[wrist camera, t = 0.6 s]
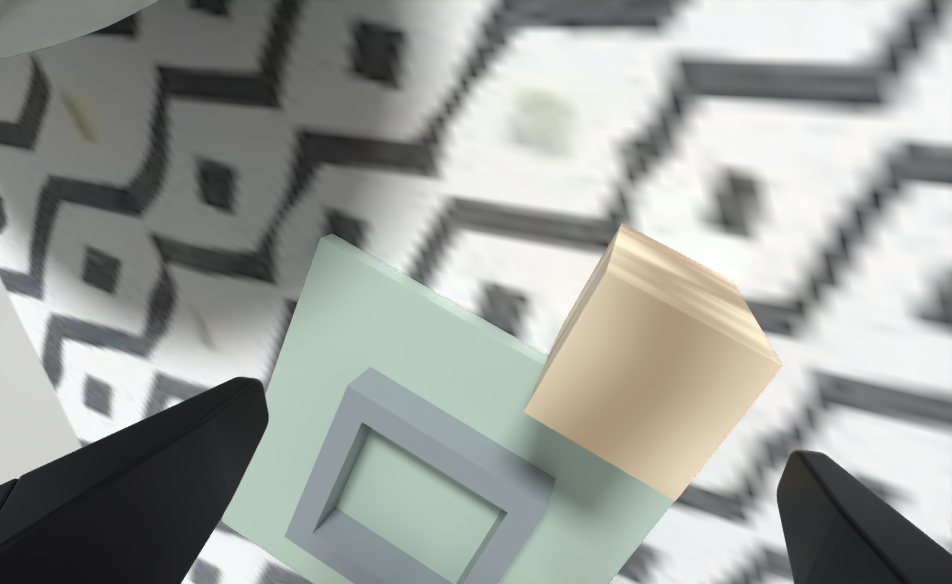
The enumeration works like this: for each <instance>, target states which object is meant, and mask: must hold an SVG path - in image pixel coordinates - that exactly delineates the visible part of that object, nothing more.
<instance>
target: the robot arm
mask: <svg viewBox="0 0 952 584" xmlns="http://www.w3.org/2000/svg"><path fill="white" fill-rule="evenodd" d="M268 421H269V412H268V407H267V402H266V397H265V392H264V387H263V384H262V382H261V381H260V380H258V379H255V378H248V377H236V378H233V379H231V380H229V381H227V382H225V383H222V384H220V385H218V386H216V387H214V388H211V389H209V390H207V391H205V392H203V393H201V394H198V395H196V396H194V397H192V398H190V399H187V400H185V401H183V402H181V403H179V404H177V405H174V406H172V407H170V408H168V409H166V410H163V411H161V412H159V413H157V414H155V415H152V416H150V417H148V418H146V419H144V420H142V421H139V422H137V423H135V424H133V425H131V426H128V427H126V428H124V429H122V430H120V431H118V432H115V433H113V434H111V435H109V436H107V437H104V438H102V439H100V440H98V441H96V442H94V443H91V444H89V445H87V446H85V447H83V448H80V449H78V450H76V451H74V452H72V453H70V454H67V455H65V456H63V457H61V458H59V459H56V460H54V461H52V462H50V463H48V464H46V465H43V466H41V467H39V468H37V469H35V470H33V471H31V472H28V473H26V474H24V475H22V476H21V477H20V478H19V479H13V480H10V481H8V482H6V483H4V484H2V485H0V584H181V583H182V581H183V579H184V578H185V576H186V574H187V573H188V571H189V569H190V568H191V566H192V565H193V563H194V561H195V560H196V558H197V556H198V555H199V553H200V552H201V550H202V548H203V547H204V545H205V543H206V542H207V540H208V539H209V537H210V535H211V534H212V532H213V530H214V529H215V527H216V526H217V524H218V522H219V521H220V519H221V517H222V516H223V514H224V512H225V511H226V509H227V507H228V506H229V504H230V502H231V500H232V498H233V496H234V494H235V493H236V491H237V489H238V487H239V484H240V482H241V480H242V478H243V476H244V474H245V472H246V470H247V468H248V466H249V464H250V462H251V460H252V458H253V455H254V453H255V451H256V449H257V447H258V445H259V443H260V441H261V439H262V437H263V435H264V433H265V431H266V428H267V425H268ZM777 503H778V508H779V513H780V518H781V523H782V527H783V532H784V537H785V542H786V547H787V551H788V556H789V561H790V566H791V571H792V576H793V580H794V584H952V555H951V554H950V553H949V552H948V551H946V550H945V549H944V548H943V547H941V546H940V545H939V544H938V543H936V542H935V541H934V540H933V539H931V538H930V537H929V536H927V535H926V534H925V533H924V532H922V531H921V530H920V529H919V528H917V527H916V526H915V525H914V524H912V523H911V522H910V521H909V520H907V519H906V518H905V517H904V516H902V515H901V514H900V513H899V512H897V511H896V510H895V509H894V508H892V507H891V506H890V505H888V504H887V503H886V502H885V501H883V500H882V499H881V498H880V497H878V496H877V495H876V494H875V493H873V492H872V491H871V490H870V489H868V488H867V487H866V486H865V485H863V484H862V483H861V482H860V481H858V480H857V479H856V478H855V477H853V476H852V475H851V474H849V473H848V472H847V471H846V470H844V469H843V468H842V467H841V466H839V465H838V464H837V463H836V462H834V461H833V460H832V459H831V458H829V457H828V456H827V455H825V454H823V453H821V452H815V451H807V450H794V451H793V452H792V453H791V454H790V456H789V458H788V461H787V463H786V466H785V469H784V471H783V474H782V477H781V479H780V482H779V484H778V488H777Z"/></svg>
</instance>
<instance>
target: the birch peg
mask: <svg viewBox="0 0 952 584" xmlns="http://www.w3.org/2000/svg"><path fill="white" fill-rule="evenodd" d="M782 366H783V365H782V363H781V362H780V360H779V358H778V357H777V355H776V353H775V352H774V350H773V348H772V347H771V345H770V343H769V341H768V340H767V338H766V336H765V335H764V333H763V331H762V330H761V328H760V326H759V325H758V323H757V321H756V319H755V318H754V316H753V314H752V313H751V311H750V309H749V308H748V306H747V304H746V303H745V301H744V299H743V298H742V296H741V294H740V292H739V291H738V289H737V287H736V286H735V284H734V282H733V281H732V280H730V279H728V278H727V277H725V276H723V275H721V274H719V273H717V272H715V271H713V270H711V269H709V268H707V267H705V266H703V265H702V264H700V263H698V262H696V261H694V260H692V259H690V258H688V257H686V256H684V255H682V254H680V253H678V252H677V251H675V250H673V249H671V248H669V247H667V246H665V245H663V244H661V243H659V242H657V241H655V240H653V239H652V238H650V237H648V236H646V235H644V234H642V233H640V232H638V231H636V230H634V229H632V228H630V227H628V226H627V225H625V224H623V223H621V225H620V226H619V228H618V230H617V231H616V233H615V235H614V237H613V238H612V240H611V242H610V244H609V245H608V247H607V249H606V250H605V252H604V254H603V256H602V257H601V259H600V261H599V263H598V264H597V266H596V268H595V269H594V271H593V273H592V275H591V276H590V278H589V280H588V282H587V283H586V285H585V287H584V288H583V290H582V292H581V294H580V295H579V297H578V299H577V301H576V302H575V304H574V306H573V307H572V309H571V311H570V313H569V314H568V316H567V318H566V320H565V322H564V324H563V326H562V328H561V330H560V333H559V335H558V337H557V339H556V341H555V343H554V346H553V348H552V350H551V352H550V354H549V357H548V359H547V361H546V363H545V365H544V368H543V370H542V372H541V374H540V376H539V379H538V381H537V383H536V385H535V387H534V390H533V392H532V394H531V396H530V398H529V401H528V403H527V405H526V407H525V409H524V411H523V412H524V413H526V414H528V415H529V416H531V417H533V418H534V419H536V420H538V421H540V422H541V423H543V424H545V425H546V426H548V427H550V428H551V429H553V430H555V431H556V432H558V433H560V434H562V435H563V436H565V437H567V438H568V439H570V440H572V441H573V442H575V443H577V444H579V445H580V446H582V447H584V448H585V449H587V450H589V451H590V452H592V453H594V454H595V455H597V456H599V457H601V458H602V459H604V460H606V461H607V462H609V463H611V464H612V465H614V466H616V467H618V468H619V469H621V470H623V471H624V472H626V473H628V474H629V475H631V476H633V477H634V478H636V479H638V480H640V481H641V482H643V483H645V484H646V485H648V486H650V487H651V488H653V489H655V490H657V491H658V492H660V493H662V494H663V495H665V496H667V497H668V498H670V499H672V500H673V501H676V500H677V498H678V497H679V496H680V495H681V493H682V492H683V491H684V490H685V488H686V487H687V486H688V485H689V483H690V482H691V481H692V480H693V478H694V477H695V476H696V475H697V473H698V472H699V471H700V469H701V468H702V467H703V466H704V464H705V463H706V462H707V461H708V459H709V458H710V457H711V456H712V454H713V453H714V452H715V451H716V449H717V448H718V447H719V446H720V444H721V443H722V442H723V440H724V439H725V438H726V437H727V435H728V434H729V433H730V432H731V430H732V429H733V428H734V427H735V425H736V424H737V423H738V422H739V420H740V419H741V418H742V417H743V415H744V414H745V413H746V411H747V410H748V409H749V408H750V406H751V405H752V404H753V403H754V401H755V400H756V399H757V398H758V396H759V395H760V394H761V393H762V391H763V390H764V389H765V387H766V386H767V385H768V384H769V382H770V381H771V380H772V379H773V377H774V376H775V375H776V374H777V372H778V371H779V370H780V369H781V367H782Z"/></svg>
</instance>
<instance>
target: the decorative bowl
mask: <svg viewBox="0 0 952 584" xmlns="http://www.w3.org/2000/svg"><path fill="white" fill-rule="evenodd" d="M156 1H158V0H0V59H2V58H7V57H11V56H15V55H19V54H24V53H28V52H32V51H36V50H40V49H44V48H47V47H51V46H54V45H57V44H61V43H64V42H67V41H70V40H72V39H75V38H78V37H81V36H83V35H86V34H89V33H91V32H94V31H97V30H100V29H102V28H105V27H107V26H109V25H112V24H114V23H116V22H118V21H120V20H122V19H124V18H126V17H128V16H130V15H132V14H134V13H136V12H138V11H140V10H142V9H144V8H146V7H148V6H150V5H151V4H153V3H155V2H156Z"/></svg>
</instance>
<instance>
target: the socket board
mask: <svg viewBox="0 0 952 584" xmlns="http://www.w3.org/2000/svg"><path fill="white" fill-rule="evenodd" d="M548 357H549V356H547V355H545V354H543V353H542V352H540V351H538V350H536V349H535V348H533V347H531V346H529V345H528V344H526V343H524V342H522V341H520V340H519V339H517V338H515V337H513V336H512V335H510V334H508V333H506V332H505V331H503V330H501V329H499V328H498V327H496V326H494V325H492V324H491V323H489V322H487V321H485V320H484V319H482V318H480V317H478V316H477V315H475V314H473V313H471V312H470V311H468V310H466V309H464V308H463V307H461V306H459V305H457V304H455V303H454V302H452V301H450V300H448V299H447V298H445V297H443V296H441V295H440V294H438V293H436V292H434V291H433V290H431V289H429V288H427V287H426V286H424V285H422V284H420V283H419V282H417V281H415V280H413V279H412V278H410V277H408V276H406V275H405V274H403V273H401V272H399V271H397V270H396V269H394V268H392V267H390V266H389V265H387V264H385V263H383V262H382V261H380V260H378V259H376V258H375V257H373V256H371V255H369V254H368V253H366V252H364V251H362V250H361V249H359V248H357V247H355V246H354V245H352V244H350V243H348V242H347V241H345V240H343V239H341V238H339V237H338V236H336V235H334V234H330V235H327V236H324V237H320V240H319V243H318V246H317V248H316V251H315V254H314V257H313V260H312V263H311V266H310V269H309V271H308V274H307V277H306V280H305V283H304V286H303V289H302V292H301V294H300V297H299V300H298V303H297V306H296V309H295V312H294V315H293V317H292V320H291V323H290V326H289V329H288V332H287V335H286V338H285V340H284V343H283V346H282V349H281V352H280V355H279V358H278V361H277V363H276V366H275V369H274V372H273V375H272V378H271V381H270V384H269V386H268V389H267V392H266V395H265V397H266V402H267V407H268V412H269V421H268V425H267V428H266V431H265V433H264V435H263V437H262V439H261V441H260V443H259V445H258V447H257V449H256V451H255V453H254V455H253V458H252V460H251V462H250V464H249V466H248V468H247V470H246V472H245V474H244V476H243V478H242V480H241V482H240V484H239V487H238V489H237V491H236V493H235V494H234V496H233V498H232V500H231V502H230V504H229V506H228V507H227V509H226V511H225V513H224V516H223V519H222V522H224V523H225V524H226V525H228V526H229V527H231V528H232V529H234V530H235V531H237V532H238V533H240V534H241V535H243V536H244V537H246V538H247V539H249V540H250V541H251V542H253V543H254V544H256V545H257V546H259V547H260V548H262V549H263V550H265V551H266V552H268V553H269V554H271V555H272V556H274V557H275V558H276V559H278V560H279V561H281V562H282V563H284V564H285V565H287V566H288V567H290V568H291V569H293V570H294V571H296V572H297V573H298V574H300V575H301V576H303V577H304V578H306V579H307V580H309V581H310V582H312V583H313V584H609V583H610V581H611V580H612V579H613V578H614V576H615V575H616V574H617V573H618V571H619V570H620V569H621V568H622V566H623V565H624V564H625V562H626V561H627V560H628V559H629V557H630V556H631V555H632V554H633V552H634V551H635V550H636V549H637V547H638V546H639V545H640V544H641V542H642V541H643V540H644V538H645V537H646V536H647V535H648V533H649V532H650V531H651V530H652V528H653V527H654V526H655V525H656V523H657V522H658V521H659V520H660V518H661V517H662V516H663V514H664V513H665V512H666V511H667V509H668V508H669V507H670V506H671V504H672V503H673V502H674V501H673V500H672V499H670V498H668V497H667V496H665V495H663V494H662V493H660V492H658V491H657V490H655V489H653V488H651V487H650V486H648V485H646V484H645V483H643V482H641V481H640V480H638V479H636V478H634V477H633V476H631V475H629V474H628V473H626V472H624V471H623V470H621V469H619V468H618V467H616V466H614V465H612V464H611V463H609V462H607V461H606V460H604V459H602V458H601V457H599V456H597V455H595V454H594V453H592V452H590V451H589V450H587V449H585V448H584V447H582V446H580V445H579V444H577V443H575V442H573V441H572V440H570V439H568V438H567V437H565V436H563V435H562V434H560V433H558V432H556V431H555V430H553V429H551V428H550V427H548V426H546V425H545V424H543V423H541V422H540V421H538V420H536V419H534V418H533V417H531V416H529V415H528V414H526V413H524V412H523V411H524V409H525V407H526V405H527V403H528V401H529V398H530V396H531V394H532V392H533V390H534V387H535V385H536V383H537V381H538V379H539V376H540V374H541V372H542V370H543V368H544V365H545V363H546V361H547V359H548Z"/></svg>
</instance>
